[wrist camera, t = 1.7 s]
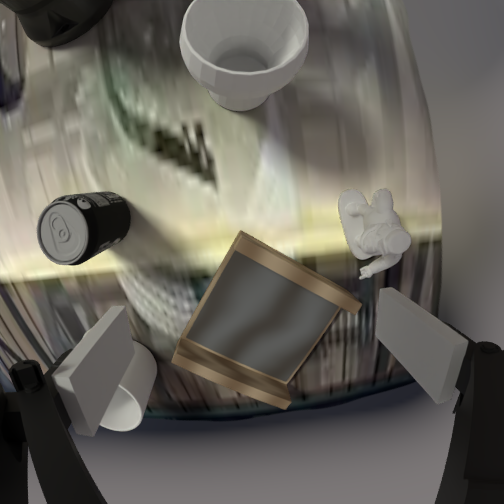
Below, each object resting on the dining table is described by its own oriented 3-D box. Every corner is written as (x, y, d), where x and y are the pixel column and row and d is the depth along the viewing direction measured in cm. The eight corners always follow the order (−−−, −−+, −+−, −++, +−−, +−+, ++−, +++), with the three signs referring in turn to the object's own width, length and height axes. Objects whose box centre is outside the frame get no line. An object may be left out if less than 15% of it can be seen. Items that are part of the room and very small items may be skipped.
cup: (301, 80, 33) (342, 26, 18) (244, 141, 34) (253, 111, 20) (236, 30, 31) (240, -42, 16) (176, 87, 32) (145, 33, 18)
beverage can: (102, 253, 36) (56, 282, 24) (77, 210, 35) (23, 222, 23) (142, 226, 36) (104, 246, 24) (115, 180, 34) (68, 181, 23)
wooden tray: (177, 342, 39) (171, 362, 34) (240, 229, 37) (241, 237, 32) (279, 387, 42) (285, 409, 37) (347, 290, 39) (362, 304, 34)
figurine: (319, 199, 36) (358, 206, 25) (366, 182, 36) (418, 184, 25) (340, 267, 38) (382, 301, 27) (384, 249, 38) (436, 275, 27)
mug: (81, 323, 38) (47, 359, 28) (127, 304, 38) (98, 341, 28) (122, 390, 40) (102, 435, 30) (168, 377, 40) (155, 425, 30)
